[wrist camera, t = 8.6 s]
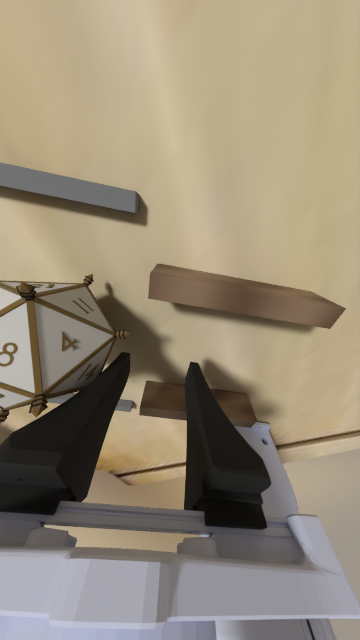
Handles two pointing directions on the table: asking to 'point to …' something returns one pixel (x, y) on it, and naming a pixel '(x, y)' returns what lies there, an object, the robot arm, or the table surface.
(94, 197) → the frame
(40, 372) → the game die
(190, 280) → the walnut chute
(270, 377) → the table surface
